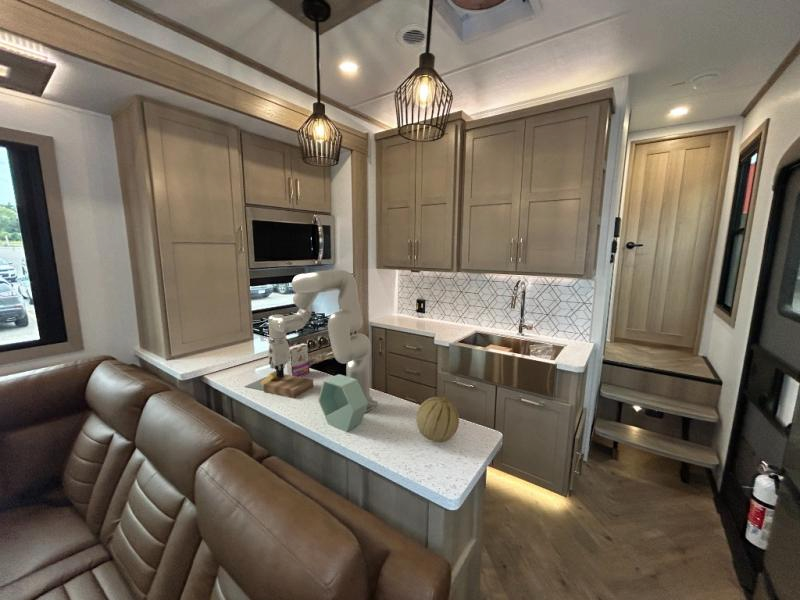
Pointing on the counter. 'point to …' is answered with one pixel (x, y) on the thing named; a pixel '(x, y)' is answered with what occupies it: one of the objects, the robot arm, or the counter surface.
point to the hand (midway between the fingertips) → (280, 376)
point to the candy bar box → (298, 360)
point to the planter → (342, 402)
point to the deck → (288, 386)
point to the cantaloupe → (437, 419)
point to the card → (269, 378)
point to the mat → (256, 385)
